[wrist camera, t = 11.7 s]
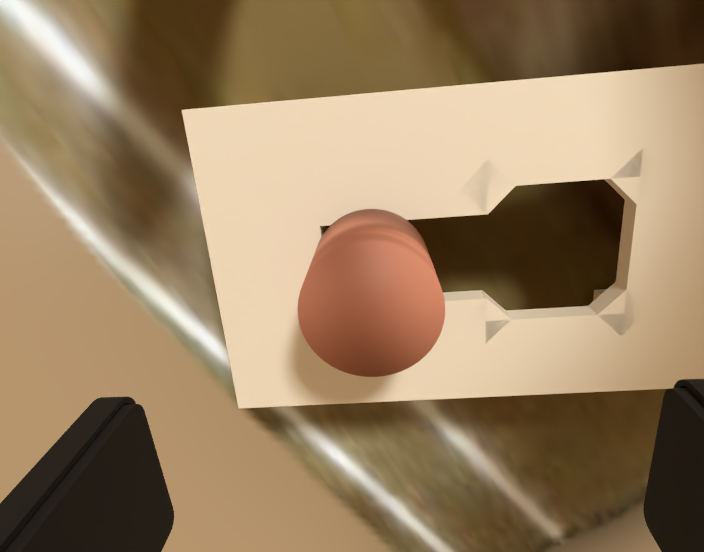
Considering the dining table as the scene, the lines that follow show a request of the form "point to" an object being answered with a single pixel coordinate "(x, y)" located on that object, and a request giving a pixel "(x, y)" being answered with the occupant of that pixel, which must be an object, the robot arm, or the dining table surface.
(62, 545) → the robot arm
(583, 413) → the dining table surface
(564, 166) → the keyhole plate
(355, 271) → the peg
